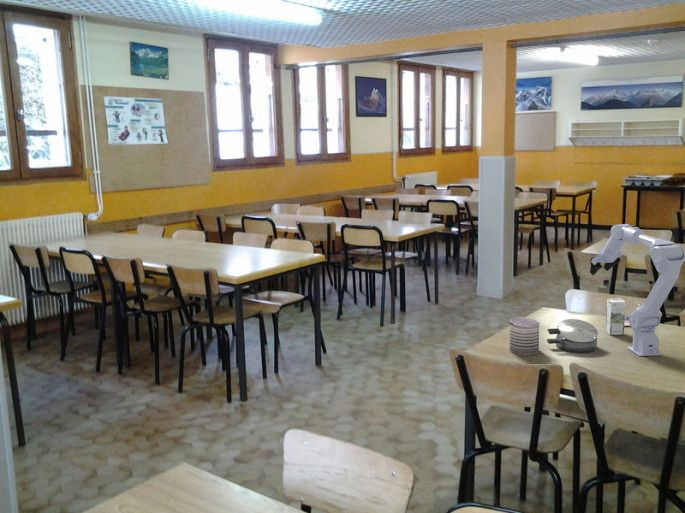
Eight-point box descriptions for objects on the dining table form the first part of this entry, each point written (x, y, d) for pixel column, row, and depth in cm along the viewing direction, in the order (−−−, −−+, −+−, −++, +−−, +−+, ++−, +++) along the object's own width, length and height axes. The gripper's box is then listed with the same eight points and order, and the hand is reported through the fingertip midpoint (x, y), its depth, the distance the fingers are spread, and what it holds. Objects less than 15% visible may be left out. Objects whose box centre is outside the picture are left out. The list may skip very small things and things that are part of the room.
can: (527, 344, 260) (527, 315, 258) (545, 352, 250) (546, 322, 248) (503, 348, 256) (503, 319, 254) (520, 357, 246) (521, 326, 244)
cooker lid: (603, 341, 247) (604, 339, 247) (555, 344, 246) (555, 342, 246) (588, 319, 260) (588, 317, 260) (542, 322, 259) (542, 319, 259)
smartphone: (620, 325, 278) (613, 316, 293) (620, 328, 278) (613, 318, 293) (638, 325, 277) (631, 316, 291) (638, 328, 277) (631, 318, 291)
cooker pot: (603, 352, 248) (603, 341, 247) (554, 354, 247) (555, 344, 246) (586, 340, 263) (587, 330, 262) (541, 342, 262) (541, 332, 261)
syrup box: (619, 331, 272) (621, 297, 270) (624, 335, 266) (625, 301, 264) (605, 331, 273) (606, 298, 270) (609, 335, 267) (611, 301, 264)
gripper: (619, 237, 265) (605, 260, 274) (592, 245, 259) (579, 268, 269) (631, 249, 260) (616, 272, 270) (603, 257, 255) (590, 280, 265)
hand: (598, 271), depth 269 cm, fingers open, 7 cm apart
